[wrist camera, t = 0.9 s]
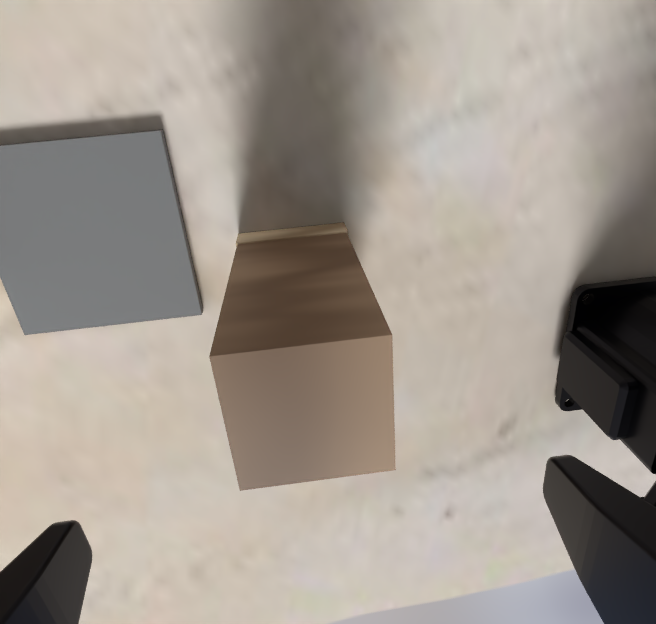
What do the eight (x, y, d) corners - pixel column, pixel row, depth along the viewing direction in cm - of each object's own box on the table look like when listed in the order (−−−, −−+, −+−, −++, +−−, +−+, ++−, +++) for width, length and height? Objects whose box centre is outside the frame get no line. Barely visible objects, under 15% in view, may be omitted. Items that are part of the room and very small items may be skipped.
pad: (162, 129, 16) (160, 130, 16) (203, 310, 19) (201, 314, 19) (-46, 149, 16) (-53, 151, 16) (29, 330, 19) (24, 334, 19)
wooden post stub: (343, 222, 18) (394, 332, 10) (350, 315, 20) (397, 471, 12) (238, 233, 18) (206, 354, 10) (254, 326, 20) (238, 492, 12)
